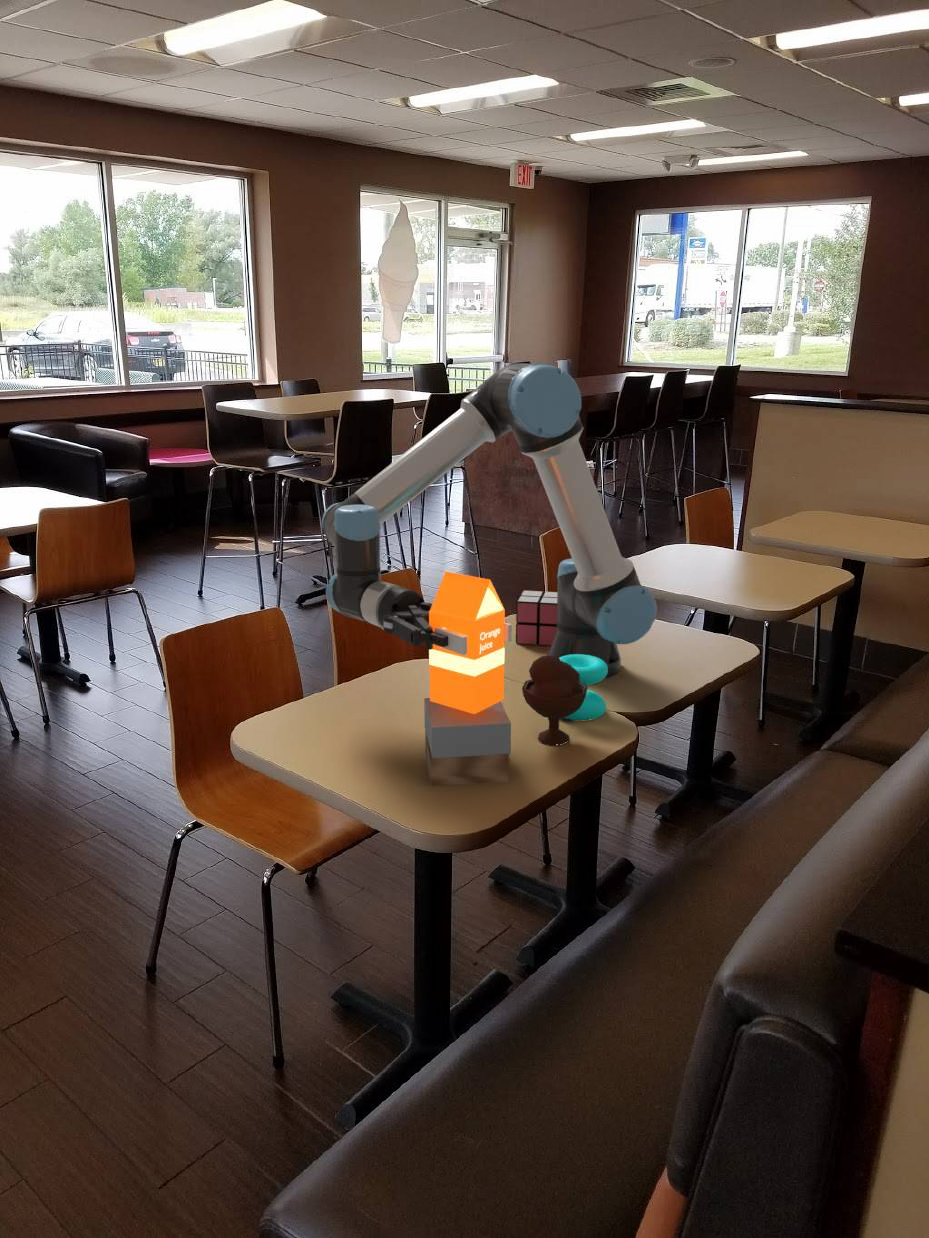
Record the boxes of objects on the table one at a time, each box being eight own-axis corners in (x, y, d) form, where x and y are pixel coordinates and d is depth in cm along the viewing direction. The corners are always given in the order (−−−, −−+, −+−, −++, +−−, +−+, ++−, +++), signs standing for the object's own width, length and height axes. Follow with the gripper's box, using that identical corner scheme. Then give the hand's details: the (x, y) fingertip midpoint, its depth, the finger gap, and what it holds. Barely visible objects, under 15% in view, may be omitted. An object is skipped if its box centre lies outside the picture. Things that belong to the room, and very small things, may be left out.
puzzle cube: (560, 647, 206) (561, 603, 203) (515, 644, 208) (516, 601, 205) (564, 634, 216) (566, 592, 213) (521, 631, 217) (522, 590, 215)
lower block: (497, 751, 155) (497, 723, 153) (508, 783, 143) (508, 754, 142) (425, 754, 153) (425, 726, 152) (430, 787, 142) (430, 757, 141)
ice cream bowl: (569, 757, 151) (572, 670, 147) (509, 742, 157) (510, 658, 153) (596, 735, 160) (600, 652, 156) (538, 721, 166) (540, 641, 161)
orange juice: (474, 714, 139) (474, 584, 133) (428, 701, 144) (427, 575, 139) (504, 699, 145) (506, 574, 139) (460, 686, 150) (460, 566, 144)
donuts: (540, 658, 168) (582, 648, 173) (539, 710, 171) (580, 698, 176) (578, 674, 160) (620, 663, 166) (576, 728, 163) (617, 715, 169)
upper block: (497, 722, 153) (497, 694, 152) (510, 753, 142) (511, 723, 140) (424, 726, 152) (424, 698, 150) (432, 758, 140) (432, 727, 139)
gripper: (442, 617, 162) (536, 648, 146) (342, 643, 149) (434, 679, 132) (442, 576, 160) (538, 602, 144) (340, 597, 146) (433, 629, 130)
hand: (488, 639), depth 138 cm, fingers closed on orange juice, 8 cm apart
